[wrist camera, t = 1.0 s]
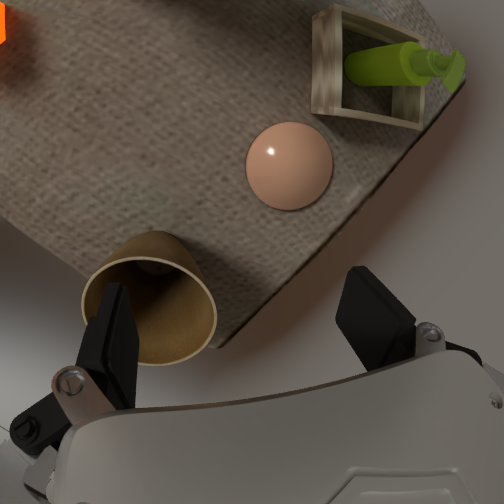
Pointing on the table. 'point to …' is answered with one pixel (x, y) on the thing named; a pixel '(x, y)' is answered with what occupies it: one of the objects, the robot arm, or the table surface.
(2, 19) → the orange juice
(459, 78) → the soap dispenser
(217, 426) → the robot arm
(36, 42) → the table surface
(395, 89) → the open wooden box
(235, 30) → the table surface
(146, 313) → the plant pot
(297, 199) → the peach oval pebble
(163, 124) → the table surface
